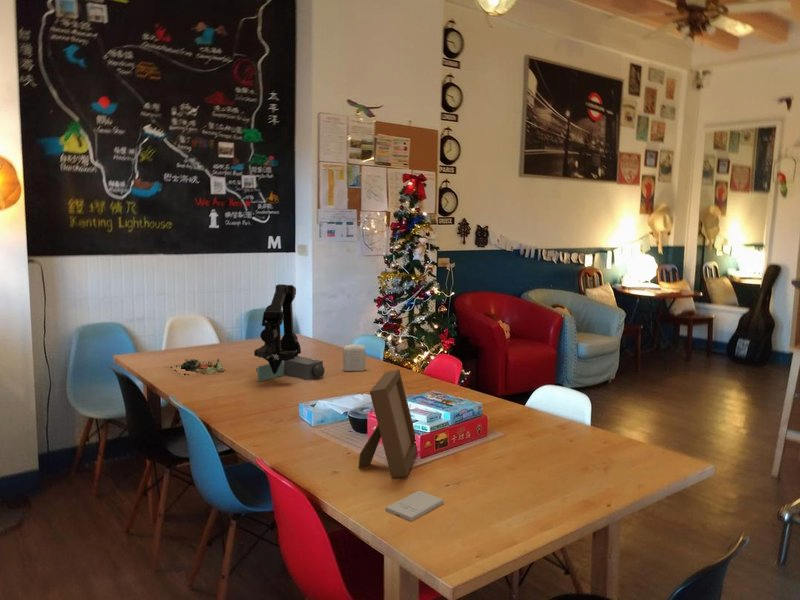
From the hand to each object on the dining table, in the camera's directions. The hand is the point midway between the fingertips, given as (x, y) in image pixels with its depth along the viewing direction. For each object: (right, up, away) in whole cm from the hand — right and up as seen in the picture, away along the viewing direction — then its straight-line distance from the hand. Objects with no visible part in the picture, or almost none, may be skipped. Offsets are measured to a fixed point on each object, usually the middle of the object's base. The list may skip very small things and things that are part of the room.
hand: (274, 373), depth 270 cm
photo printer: (+33, -1, +21) cm, 39 cm away
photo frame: (+50, -16, -88) cm, 103 cm away
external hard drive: (+58, -20, -116) cm, 131 cm away
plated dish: (-38, -2, +23) cm, 45 cm away
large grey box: (+12, -2, +11) cm, 16 cm away
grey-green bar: (-3, -3, +7) cm, 8 cm away
